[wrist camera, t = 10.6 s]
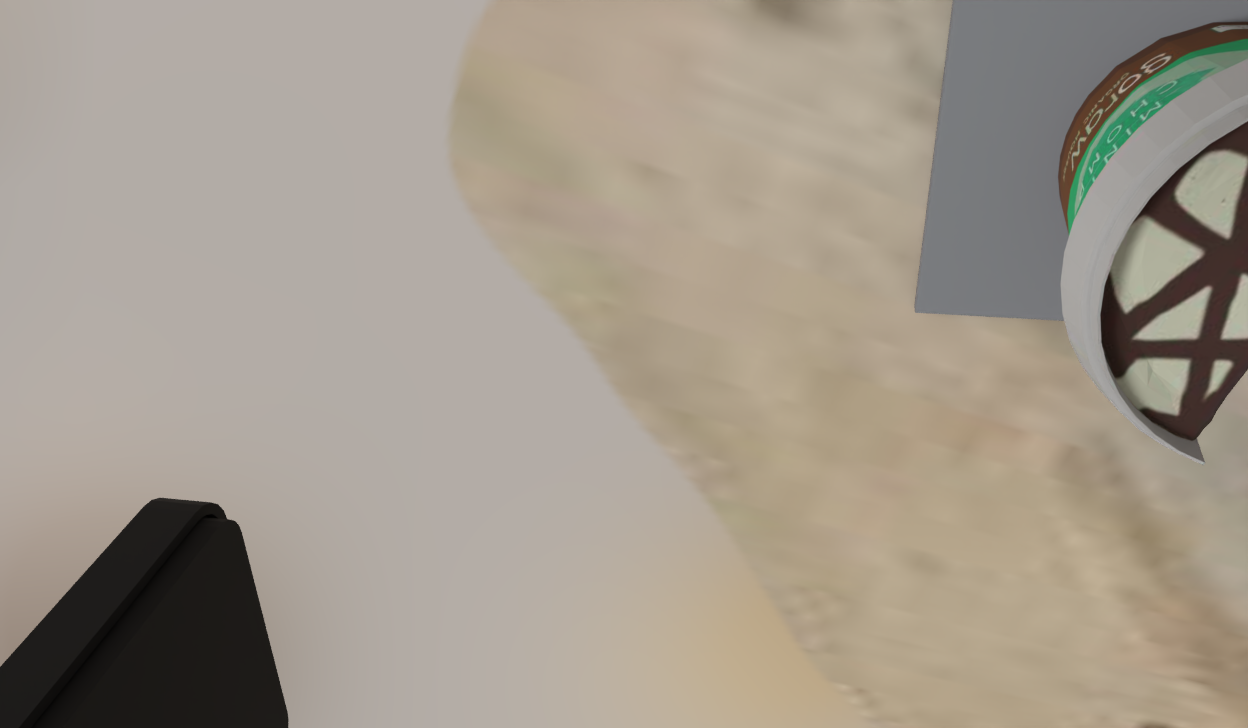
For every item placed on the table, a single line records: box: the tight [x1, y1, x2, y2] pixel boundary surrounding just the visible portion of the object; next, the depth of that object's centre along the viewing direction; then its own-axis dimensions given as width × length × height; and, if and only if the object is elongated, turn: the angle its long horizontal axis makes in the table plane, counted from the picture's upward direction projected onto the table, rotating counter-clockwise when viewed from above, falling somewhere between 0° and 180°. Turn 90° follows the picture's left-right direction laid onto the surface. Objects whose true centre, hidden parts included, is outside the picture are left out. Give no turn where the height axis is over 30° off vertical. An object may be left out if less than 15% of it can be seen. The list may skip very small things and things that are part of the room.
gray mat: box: [914, 0, 1248, 321], centre depth 36 cm, size 14×15×1 cm
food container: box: [1058, 22, 1248, 465], centre depth 31 cm, size 12×6×10 cm, turn 163°
